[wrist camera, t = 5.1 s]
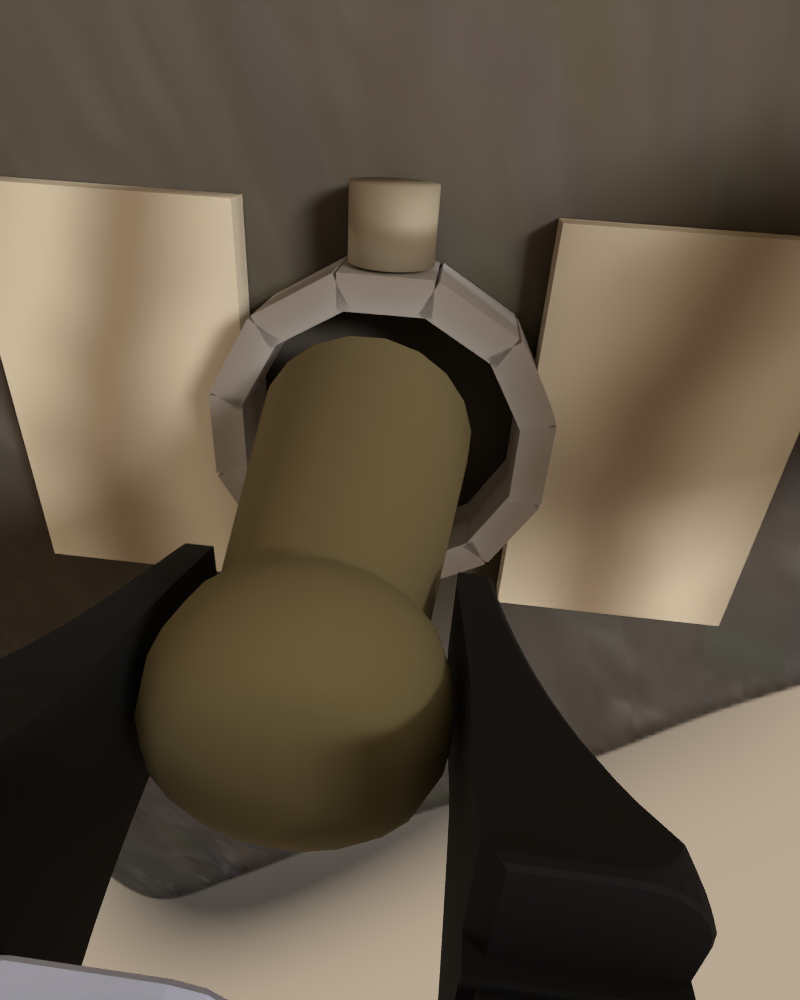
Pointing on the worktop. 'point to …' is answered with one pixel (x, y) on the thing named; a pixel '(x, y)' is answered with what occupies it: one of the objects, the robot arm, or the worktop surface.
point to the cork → (320, 613)
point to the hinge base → (459, 313)
